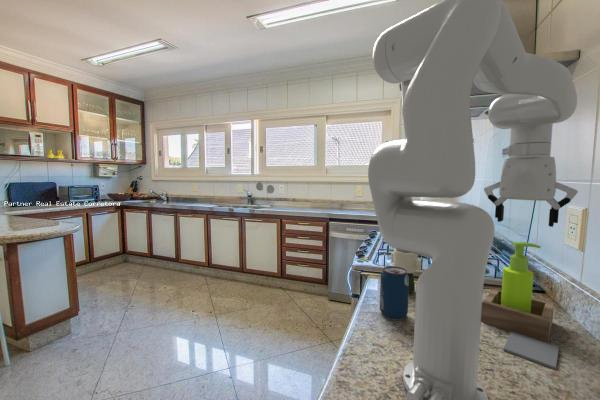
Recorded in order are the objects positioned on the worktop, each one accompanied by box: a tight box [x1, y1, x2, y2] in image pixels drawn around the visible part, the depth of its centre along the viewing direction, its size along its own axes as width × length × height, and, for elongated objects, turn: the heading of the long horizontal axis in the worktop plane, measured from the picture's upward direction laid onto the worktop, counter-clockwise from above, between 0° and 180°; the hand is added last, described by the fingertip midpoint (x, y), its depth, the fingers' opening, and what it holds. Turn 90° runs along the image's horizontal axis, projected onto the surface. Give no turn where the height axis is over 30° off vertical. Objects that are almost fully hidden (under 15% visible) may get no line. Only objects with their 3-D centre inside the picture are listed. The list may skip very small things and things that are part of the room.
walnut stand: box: [481, 288, 555, 344], centre depth 69 cm, size 12×12×5 cm
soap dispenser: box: [501, 241, 542, 313], centre depth 68 cm, size 6×7×20 cm
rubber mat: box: [502, 331, 560, 370], centre depth 57 cm, size 9×8×1 cm
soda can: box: [379, 265, 410, 321], centre depth 71 cm, size 7×7×12 cm
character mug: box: [390, 248, 422, 293], centre depth 87 cm, size 11×7×13 cm, turn 31°
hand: (524, 223), depth 67 cm, fingers open, 9 cm apart
